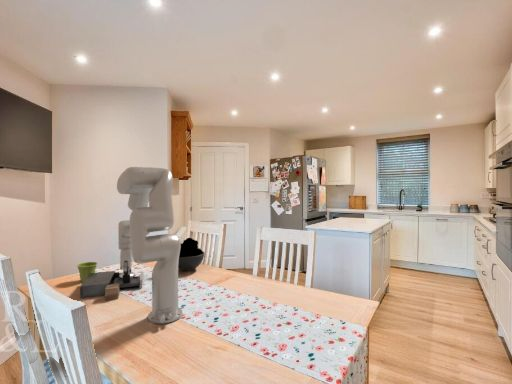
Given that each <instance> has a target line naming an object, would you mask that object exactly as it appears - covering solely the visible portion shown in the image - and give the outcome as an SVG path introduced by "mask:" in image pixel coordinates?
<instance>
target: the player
mask: <svg viewBox="0 0 512 384" xmlns="http://www.w3.org/2000/svg"><path fill="white" fill-rule="evenodd" d="M121 273H122V272H120V271H117V272H116V270H111V271H99V272H95V273H90V274H89V275H88V277H87V278H86V279H85V281H84V282H82V283H80V285H79V299H85V298H93V297H95V298H96V297H102V296H104V297H105V288H106V286H107V285H115V284H118V283H114V284H113V282H114V279H115V278H119V275H120V274H121Z"/></svg>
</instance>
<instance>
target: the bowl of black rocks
mask: <svg viewBox="0 0 512 384" xmlns="http://www.w3.org/2000/svg"><path fill="white" fill-rule="evenodd" d="M180 243H181V248H180V254H179V261H178V270H180V271H185V272H186V271H188V272H189V271H193V270H195V269H196V268H198V267H199V266H200V265H201V264H202V262H203V260H204V258H205V257H204V256H205V251H203V250H202V249H201V248H200V247H199V241H198V240H197V239H194V238H192V237H187V238H186V239H184V240H183V242H180Z"/></svg>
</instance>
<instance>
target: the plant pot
mask: <svg viewBox="0 0 512 384" xmlns="http://www.w3.org/2000/svg"><path fill="white" fill-rule="evenodd" d="M97 265H99V264H98V262H96V261H87V262H83V263H82V262H81V263H79V264H77V266H76V267H77V269H78V271H79V272H78V274H79V278H80V282H82V283H83V282H84V281H85V279H86V278H87V277H88V275H89V274H90V273H96V270H97V269H96V268H97Z"/></svg>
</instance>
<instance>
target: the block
mask: <svg viewBox="0 0 512 384" xmlns="http://www.w3.org/2000/svg"><path fill="white" fill-rule="evenodd" d="M119 296H120V288H119V284H115V285H107V286H106V288H105V295H104V299H105V300H104V301H112V300H119Z"/></svg>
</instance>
